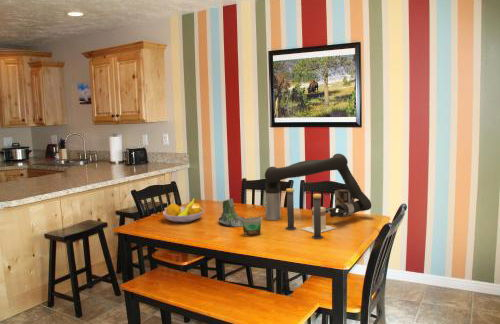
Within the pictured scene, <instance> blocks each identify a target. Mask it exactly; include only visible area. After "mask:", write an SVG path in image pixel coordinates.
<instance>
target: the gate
mask: <svg viewBox="0 0 500 324" xmlns="http://www.w3.org/2000/svg"><path fill="white" fill-rule="evenodd" d="M294 190H295V189H294V188H286V189H285V191H286V202H287V203H286V205H287V206H286V207H287V208H286V210H287V213H286V215H287V226H286V227H285V230H286V231H295V229H296V230H297V227H295V220H294V219H295V218H294V217H295V215H294V213H295V211H294V207H295V206H294V204H295V203H294V192H295V191H294ZM312 197H313V207H314V234H313V235H312V236H311V239H313V238H314V239H313V240H323V239H324V235H322V233H321V207H322V205H321V200H322V199H321V198H322V194H321V193H313V194H312ZM322 238H323V239H322Z"/></svg>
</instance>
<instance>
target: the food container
mask: <svg viewBox="0 0 500 324" xmlns="http://www.w3.org/2000/svg"><path fill="white" fill-rule="evenodd" d="M241 221H242V224H243V227H242V229H243V235H244V236H247V237H257V236H259V235H261V228H262V221H263V217H262V215H260V216H258V217H254V216H252V217H251V216H250V217H247V218H246V219H245V217H244V218H241Z"/></svg>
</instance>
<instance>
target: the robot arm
mask: <svg viewBox="0 0 500 324" xmlns="http://www.w3.org/2000/svg"><path fill="white" fill-rule="evenodd" d="M348 162H349V161H348V158H347V157H346V156H345V155H344V154H342V153H335V154H334V155H333V156H332V157H329V158H325V159H310V160H309V159H307V160H302V161H298V162H296V163H292V164H290V165H288V166H287V165H286V166H284V167H283V166H282V167H277V166H269V167H268V168H267V169H266V170H265V172H264V178H265V204H264V211H265V217H264V218H265V219H266V220H267V221H279V220H281V219H282V218H281V217H282V216H281V215H282V214H281V211H282V209H281V208H282V207H281V181H283V180H285V179H291V178H293V179H294V178H300V177H307V176H312V175H315V174H316V175H317V174H320V173H324V172H328V171H329V172H330V171H337V172H338V174H339V175H340V177H341V178H342V180H343V182H344V184H345V186H346V190H348V191H349V192H350V197H352V199H354V201H351V202H349V203H343V204H338V205H336V207H335V206H334V207H331V206H329V207H328V206H327V207H325V208H326V215H327V214H328V215H329V216H330V218H334V217H339V218H342V217H348V216H347V215H350V214H351V215H352V214H357V213H359V212H366V211H369V210H371V209H372V203H371V200H370V198H369V197H368V196H367V195H366V194H365V193H364V192H363V191H362V189H361V187H360V185H359V184H358V181H357V179H355V177H354V176H353V174H352V172H351V170H350V168H349V166H348ZM355 199H356V200H355ZM351 215H350V216H351Z"/></svg>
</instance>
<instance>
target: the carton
mask: <svg viewBox="0 0 500 324" xmlns="http://www.w3.org/2000/svg"><path fill="white" fill-rule="evenodd" d="M326 208H327V207H323V206H321V230H322V229H326V225H327V223H326V221H327V220H326V219H327V218H326V215H327V214H326ZM311 226H312V228H313V229H314V206H313V207H311Z"/></svg>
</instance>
